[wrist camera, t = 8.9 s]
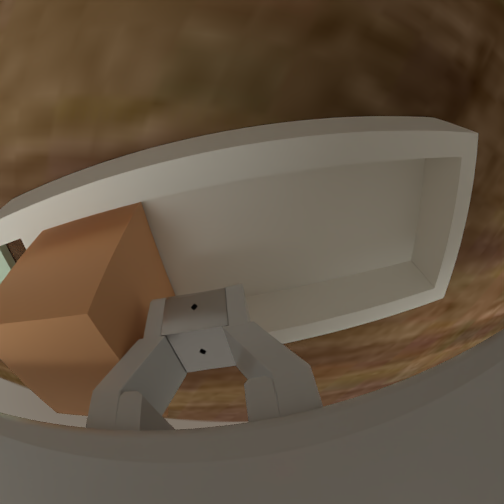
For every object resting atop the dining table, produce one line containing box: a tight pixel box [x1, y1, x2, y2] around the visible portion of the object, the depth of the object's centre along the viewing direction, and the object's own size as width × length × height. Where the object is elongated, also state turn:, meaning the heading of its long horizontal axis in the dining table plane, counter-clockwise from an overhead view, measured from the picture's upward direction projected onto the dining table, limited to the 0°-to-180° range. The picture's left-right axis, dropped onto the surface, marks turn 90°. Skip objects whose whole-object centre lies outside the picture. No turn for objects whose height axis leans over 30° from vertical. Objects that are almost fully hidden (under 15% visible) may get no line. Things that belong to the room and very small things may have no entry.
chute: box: [0, 116, 478, 344], centre depth 11 cm, size 20×8×3 cm, turn 98°
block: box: [0, 202, 175, 417], centre depth 9 cm, size 5×5×6 cm
